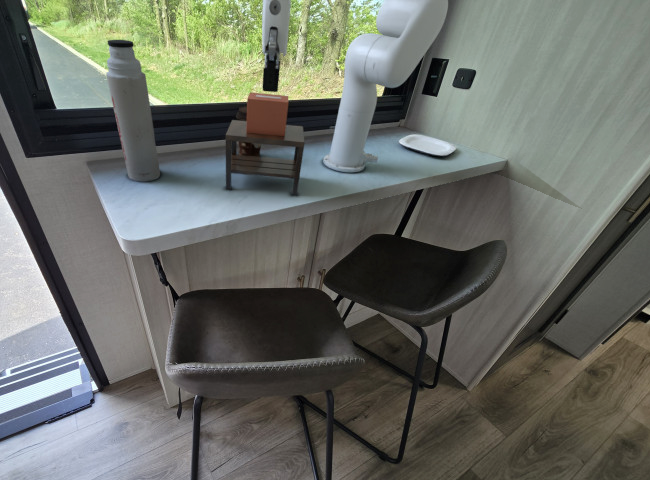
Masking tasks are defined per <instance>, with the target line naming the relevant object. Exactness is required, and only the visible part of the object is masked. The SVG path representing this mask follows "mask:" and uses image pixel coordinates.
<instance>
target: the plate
mask: <svg viewBox="0 0 650 480" xmlns="http://www.w3.org/2000/svg"><path fill="white" fill-rule="evenodd" d="M398 144H399V145H400V146H402V147H405V148H408V149H409V150H411V151H413V152H415V153H418V154H419V153H420V154H423V155H428V156H433V157H447V156H450V155H451V154H453V153H454V152H456V150H457V149H458V147H457V146H456V144H453V143H451V142H449V141H446V140H441V139H439V138H434V137H432V136H427V135H423V134H417V133H416V134H415V133H414V134H409V135H406V136H404V137H402V138H401V139H399V140H398Z"/></svg>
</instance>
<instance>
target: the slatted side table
mask: <svg viewBox="0 0 650 480" xmlns="http://www.w3.org/2000/svg"><path fill="white" fill-rule="evenodd" d="M246 126H247V121H238V119H232V120H231V122H230V124H229V126H228V129H227V131H226V133H225V190H231V189H232V174H238V175H249V176H259V177H271V178H281V179H292V180H293V183H292V189H291V196H292V197H293V196H294V197H297V196H298V189H299V182H300V177H301V176H300V175H301V170H302V162H303V156H304V150H305V144H306V143H305V141H306V140H305V132H304V126H302V125H290V124H286V129H285V136H277V135H266V134H255V133H246ZM239 142H248V143H259V144H261V145H271V146H280V147H281V146H282V147H293V148H294V154H293V159H288V158H276V157H267V156H259V157H256V156H245V155H239V154H237V150H238V149H237V145H238V144H237V143H239Z"/></svg>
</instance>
